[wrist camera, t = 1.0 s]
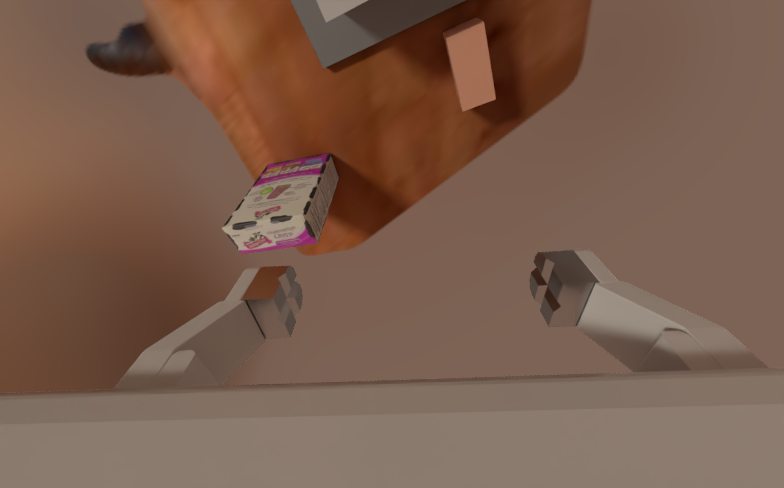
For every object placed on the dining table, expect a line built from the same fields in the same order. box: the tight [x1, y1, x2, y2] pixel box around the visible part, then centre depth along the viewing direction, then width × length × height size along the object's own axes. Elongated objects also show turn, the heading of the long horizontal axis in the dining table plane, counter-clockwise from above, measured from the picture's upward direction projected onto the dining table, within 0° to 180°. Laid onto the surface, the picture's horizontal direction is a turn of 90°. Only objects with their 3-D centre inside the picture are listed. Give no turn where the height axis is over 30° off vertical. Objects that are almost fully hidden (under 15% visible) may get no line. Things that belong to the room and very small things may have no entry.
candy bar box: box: [222, 153, 339, 254], centre depth 43 cm, size 11×5×16 cm, turn 102°
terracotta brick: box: [443, 17, 496, 111], centre depth 35 cm, size 4×8×5 cm, turn 22°
